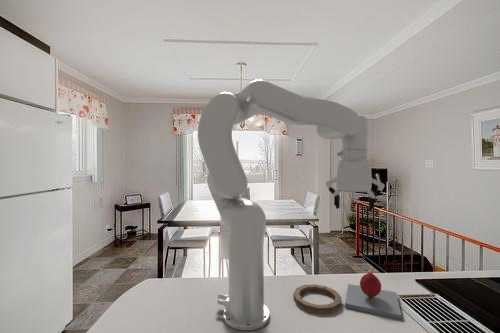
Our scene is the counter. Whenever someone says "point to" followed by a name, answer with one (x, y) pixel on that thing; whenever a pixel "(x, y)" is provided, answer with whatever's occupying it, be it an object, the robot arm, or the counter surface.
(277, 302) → the counter surface
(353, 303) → the board
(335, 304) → the ring holder
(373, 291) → the onion
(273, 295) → the counter surface
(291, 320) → the counter surface
